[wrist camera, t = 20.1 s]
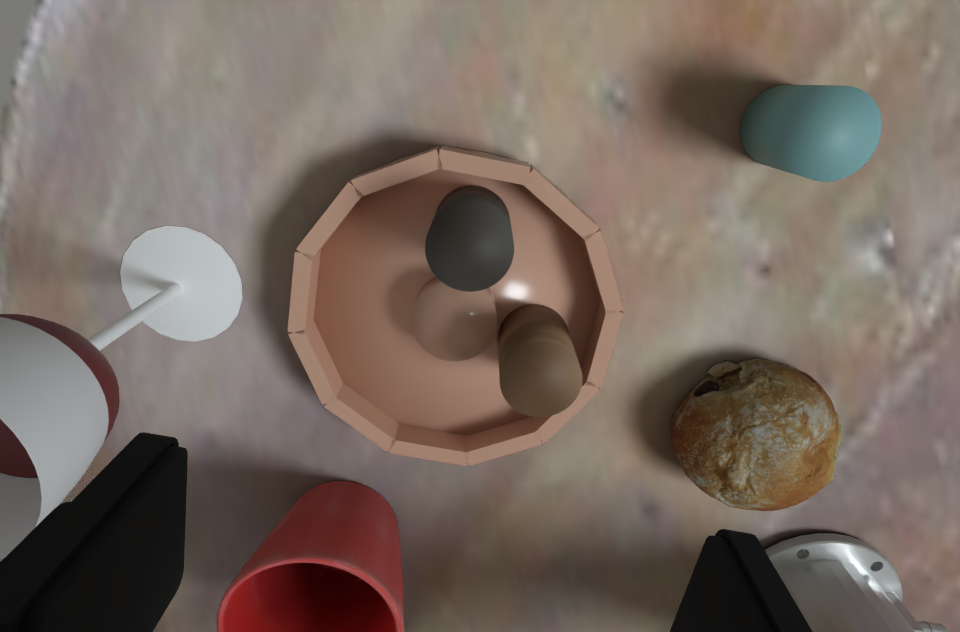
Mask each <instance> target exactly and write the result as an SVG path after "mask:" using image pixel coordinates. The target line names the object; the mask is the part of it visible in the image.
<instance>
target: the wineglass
mask: <svg viewBox="0 0 960 632" xmlns="http://www.w3.org/2000/svg"><path fill="white" fill-rule="evenodd" d="M120 276H121V283H122V291H123V293H124V295H125V297H126V299H127V301H128V303H129V305H130V308H131V309H132V311H130V312H129V313H127V314H126V315H124V316H123V317H121V318H119V319H118V320H116V321H115V322H113V323H112V324H110V325H109V326H107V327H106V328H104V329H103V330H101V331H100V332H98V333H96V334H95V335H93V336H92V337H90V338H89V339H85V338H84V337H82V336H81V335H80V334H78V333H76V332H74V331H73V330H71V329H69V328H67V327H65V326H62V325H60V324H57V323H55V322H52V321H48V320H44V319H40V318H37V317H33V316H26V315H19V314H0V559H3V558H5V557H6V556H7V555H8V554H9V553H10V552H11V551H12V550H13V549H14V548H15V547H16V546H17V545H18V544H19V543H20V542H21V541H22V540H23V539H24V538H25V537H26V536H27V535H28V534H29V533H30V532H31V531H32V530H33V529H34V528H35V527H36V526H37V525H38V524H39V523H40V522H41V521H42V520H43V519H44V518H45V517H46V516H47V515H48V514H49V513H50V512H51V511H52V510H54V509H55V508H56V507H57V506H59V504H60V503H61V502H62V501H63V500H64V498H65V497H66V496H67V495H68V494H69V493H70V491H71V490H72V489H73V488H74V486H75V485H76V484H77V483H78V481H79V480H80V479H81V477H82V476H83V475H84V473H85V472H86V470H87V469H88V467H89V466H90V464H91V462H92V461H93V459H94V458H95V456H96V454H97V453H98V451H99V450H100V448H101V446H102V445H103V443H104V441H105V440H106V438H107V437H108V435H109V433H110V431H111V429H112V427H113V424H114V421H115V419H116V416H117V413H118V409H119V386H118V382H117V379H116V376H115V373H114V371H113V369H112V367H111V365H110V364H109V362H108V361H107V359H106V358H105V357H104V356H103V354H102V353H101V352H100V350H101V349H103V348H104V347H106V346H107V345H108V344H110V343H111V342H113V341H114V340H116V339H117V338H118V337H120V336H121V335H123V334H124V333H126V332H127V331H128V330H130V329H131V328H133V327H134V326H136V325H137V324H138V323H140V322H141V321H143V323H145V324H146V325H148V326H149V327H151V328H152V329H154V330H155V331H157V332H158V333H159V334H162V335H165V336H168V337H170V338H173V339H176V340H183V341H200V340H204V339H209V338H213V337H215V336H216V335H218V334H220V333H221V332H223V331H224V330H226V329H227V328H228V327H229V326H230V325H231V323H232V322H233V321H234V319H235V318H236V317H237V315H238V313H239V309H240V306H241V302H242V284H241V278H240V276H239V273H238V271H237V268H236V266H235V263H234V262H233V260H232V259H231V258H230V257H229V255H228V254H227V253H226V252H225V250H224V249H223V248H222V247H221V246H220V245H219V244H217V243H216V242H215V241H213V240H212V239H211V238H209V237H208V236H206V235H205V234H203V233H200V232H197V231H195V230H192V229H189V228H187V227H177V226H163V227H159V228H155V229H151V230H148V231H146V232H145V233H143V234H142V235H140V236H139V237H138V238H136V239H135V240H133V242H132V243H131V245H130V246H129V248H128V249H127V251H126V252H125V254H124V256H123V260H122V265H121V270H120Z"/></svg>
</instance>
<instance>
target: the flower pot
mask: <svg viewBox="0 0 960 632" xmlns="http://www.w3.org/2000/svg"><path fill="white" fill-rule="evenodd" d="M217 632H404V596H403V576H402V561H401V550H400V540H399V531H398V522H397V519H396V515H395V513H394V511H393V509H392V508H391V506H390V505H389V503H388V502H387V501H386V500H385V499H384V498H383V497H382V496H381V495H380V494H379V493H377V492H376V491H374V490H373V489H371V488H369V487H367V486H364V485H362V484H359V483H355V482H350V481H332V482H327V483H323V484H320V485H317V486H315V487H313V488H311V489H310V490H308V491H307V492H306V493H304V494H303V495H302V496H301V497H300V498H299V499H298V500H297V502H296V503H295V504H294V505H293V506H292V508H291V509H290V510H289V511H288V513H287V514H286V515H285V516H284V517H283V519H282V520H281V521H280V522H279V524H278V525H277V526H276V527H275V528H274V530H273V531H272V532H271V533H270V534H269V536H268V537H267V538H266V539H265V541H264V542H263V543H262V544H261V546H260V547H259V548H258V549H257V551H256V552H255V553H254V554H253V555H252V557H251V558H250V559H249V560H248V562H247V563H246V564H245V565H244V567H243V568H242V569H241V571H240V572H239V573H238V575H237V576H236V577H235V579H234V580H233V581H232V583H231V584H230V586H229V587H228V589H227V590H226V592H225V594H224V596H223V598H222V600H221V602H220V605H219V609H218V614H217Z"/></svg>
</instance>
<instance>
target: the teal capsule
mask: <svg viewBox="0 0 960 632" xmlns="http://www.w3.org/2000/svg"><path fill="white" fill-rule="evenodd" d="M881 129H882V120H881V114H880V111H879V108H878V106H877V104H876V102H875V101H874V100H873V98H872V97H871V96H870V95H868V94H867V93H866V92H864V91H863V90H860V89H858V88H855V87H851V86H827V85H779V86H775V87H772V88H769V89H767V90H765V91H764V92H762V93H761V94H759V95H758V96H757V97H756V98H755V99H754V100H753V101H752V102H751V103H750V105H749V106H748V108H747V109H746V111H745V113H744V115H743V118H742V122H741V127H740V137H741V142H742V145H743V147H744V149H745V151H746V153H747V154H748V155H749V156H750V157H751V158H752V159H753V160H755V161H756V162H758V163H761V164H763V165H767V166H770V167H773V168H776V169H780V170H783V171H786V172H789V173H793V174H796V175H799V176H802V177H805V178H809V179H812V180H816V181H822V182H830V181H836V180H839V179H843V178H845V177H847V176H849V175H851V174H853V173H854V172H856V171H857V170H859V169H860V168H861V167H862V166H863V165H864V164H865V163H866V162H867V161H868V160H869V159H870V157H871V156H872V154H873V153H874V151H875V149H876V147H877V145H878V142H879V139H880V136H881Z"/></svg>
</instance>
